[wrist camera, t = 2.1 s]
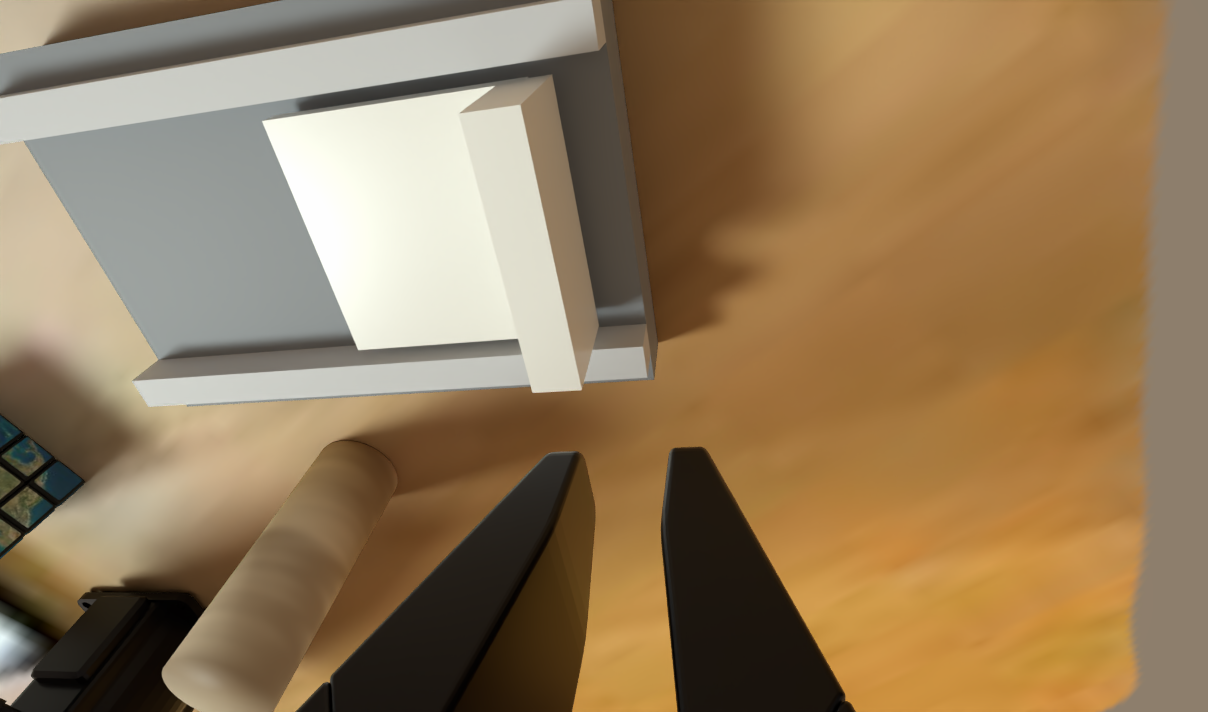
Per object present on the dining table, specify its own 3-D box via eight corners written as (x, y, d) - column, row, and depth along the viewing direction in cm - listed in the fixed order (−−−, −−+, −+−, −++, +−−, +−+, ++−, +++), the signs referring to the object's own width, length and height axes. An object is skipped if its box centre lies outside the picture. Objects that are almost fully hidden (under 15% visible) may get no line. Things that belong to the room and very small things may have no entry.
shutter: (599, 321, 18) (581, 390, 15) (367, 339, 19) (313, 404, 17) (553, 72, 14) (520, 104, 12) (275, 115, 16) (189, 152, 13)
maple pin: (408, 499, 26) (291, 725, 19) (337, 501, 27) (196, 720, 19) (382, 438, 25) (242, 659, 17) (306, 442, 25) (140, 656, 18)
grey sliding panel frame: (658, 343, 21) (651, 404, 18) (223, 373, 24) (163, 428, 21) (604, -60, 15) (582, -58, 12) (39, 47, 18) (-75, 66, 15)
